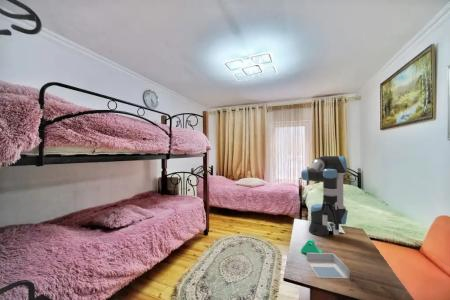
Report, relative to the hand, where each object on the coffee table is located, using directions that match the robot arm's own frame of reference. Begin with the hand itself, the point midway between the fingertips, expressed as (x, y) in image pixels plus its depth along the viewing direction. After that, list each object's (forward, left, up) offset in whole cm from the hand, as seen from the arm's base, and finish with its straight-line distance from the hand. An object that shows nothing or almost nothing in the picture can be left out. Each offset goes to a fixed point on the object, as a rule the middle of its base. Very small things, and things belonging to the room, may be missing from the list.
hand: (330, 229), depth 117 cm
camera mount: (-15, -5, -23) cm, 28 cm away
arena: (+2, -4, -23) cm, 23 cm away
